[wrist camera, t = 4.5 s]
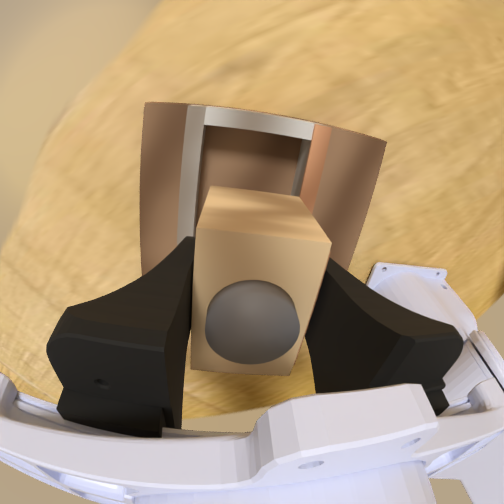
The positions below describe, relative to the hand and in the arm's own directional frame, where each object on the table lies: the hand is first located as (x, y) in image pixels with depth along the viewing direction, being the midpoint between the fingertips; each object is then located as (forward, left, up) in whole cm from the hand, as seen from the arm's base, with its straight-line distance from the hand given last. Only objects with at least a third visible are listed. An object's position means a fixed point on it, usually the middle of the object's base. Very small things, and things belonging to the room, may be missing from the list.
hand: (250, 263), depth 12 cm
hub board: (-1, +1, -9) cm, 10 cm away
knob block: (0, +1, -2) cm, 2 cm away
